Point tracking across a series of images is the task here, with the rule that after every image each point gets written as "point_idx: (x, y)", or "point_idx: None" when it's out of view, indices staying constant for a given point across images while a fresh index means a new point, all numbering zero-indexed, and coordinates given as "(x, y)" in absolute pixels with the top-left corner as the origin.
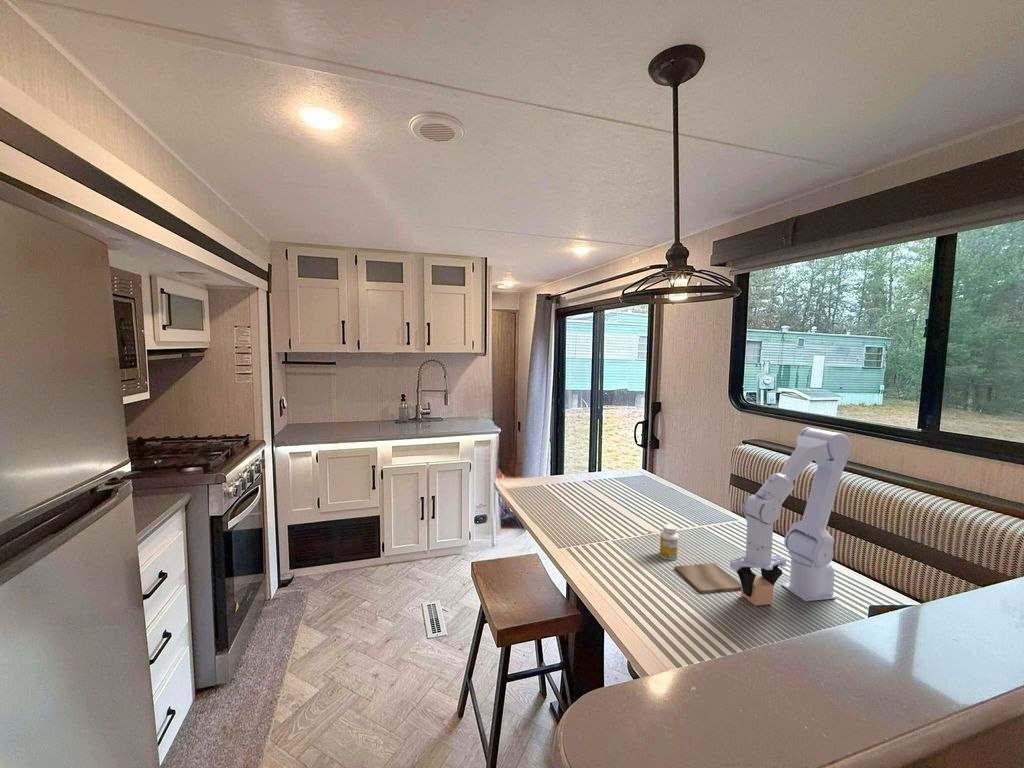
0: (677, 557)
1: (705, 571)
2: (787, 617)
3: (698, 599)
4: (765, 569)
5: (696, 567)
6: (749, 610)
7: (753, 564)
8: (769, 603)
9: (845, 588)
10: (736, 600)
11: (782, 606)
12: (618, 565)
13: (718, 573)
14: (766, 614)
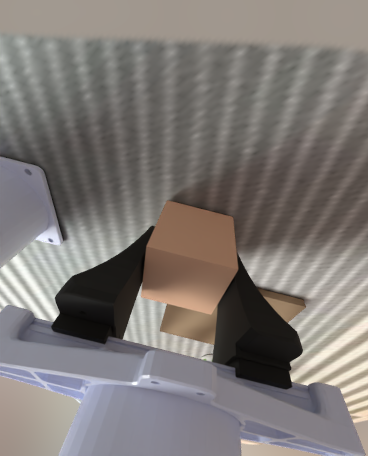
0: (210, 357)
1: (207, 328)
2: (181, 127)
3: (339, 291)
4: (124, 318)
5: (210, 338)
6: (268, 210)
7: (264, 423)
8: (178, 204)
9: None
10: (248, 252)
11: (139, 181)
12: (334, 382)
13: (186, 316)
14: (238, 173)
